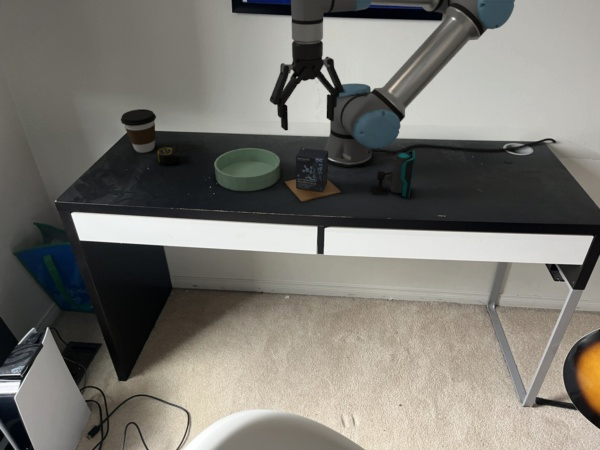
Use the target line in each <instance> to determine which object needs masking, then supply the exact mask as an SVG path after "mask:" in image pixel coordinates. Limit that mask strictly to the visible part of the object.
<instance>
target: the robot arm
mask: <svg viewBox="0 0 600 450" xmlns="http://www.w3.org/2000/svg"><path fill="white" fill-rule="evenodd" d="M515 1H516V0H290V11H291V39H292V40H293V41H292V42H291V53H292V54H291V57H292V62H291V64H286V63H284V62H282V63H280V66H279V74H278V77H277V79H276V82H275V85H274V87H273V90H272V92H271V95H270V98H269V102H270V103H271V104H273V105H274V106H276V107H277V116H278V118H279V119H280V128H281V129H283V130H284V131H289V114H288V113H289V112H288V105H287V104H286V103H287V102H288V101H289V99H290V97H291V95H292V94H293V92H294V91H295V90H296V88H297V87H298V85H300V84H301V82H306V81H309V80H311V81H313V80H316V79H317V80H318V82H320V84H321V85H322V86H323V87H324V88H325V89H326V91H327V92H328V93H329V94H326V119H327V120H328V121H329V123H330V125H329V127H330V128H329V136H328V138H327V141H326V144H325V147H324V149H323V150H324V151H325V150H326V151H328V164H331V165H333V166H335V167H341V168H357V167H363V166H365V165H367V164H368V163H370V162H371V161H372V156H373V153H386V154H397V153H399V152H405V151H407V150H410V149H412V148H421V147H422V148H435V149H447V150H459V151H468V152H469V151H470V152H506V151H507V152H508V151H513V150H519V149H523V148H526V147H529V146H534V145H538V144H541V143H544V142H549V141H550V142H551V143H553V144H557V140H556V139H554V138H552V137H548V138H547V137H546V138H542V139H539V140H537V141H533V142H529V143H525V144H522V145H517V146H512V147H503V148H477V147H476V148H475V147H474V148H473V147H462V146H461V147H460V146H452V145H451V146H450V145H437V144H427V143H419V144H418V143H417V144H411V145H408V146H406V147H404V148H402V149H397V150H389V149H384V148H387V147H388V146H390V145H391V144H393V143H394V142H395V141H396V139H397V138H398V136H399V135H400V129H401V123H402V121H403V120H404V119H405V117H406V109H407V108H408V107H409V106H410V105H411V103H412V102H413V101H414V100H415V99H416V98H417V97H418V96H420V94H421V93H422V91H423V90H424V89H425V88H426V87H427V86H428V85H429V84H430V83H431V82H432V81H433V80H434V79H435V78H436V77H437V76H438V75H439V73H440V72H441V71H442V70H443V69H445V67H446V66H447V65H448V64H449V63H450V62H451V61H452V59H453V58H454V57H456V55H457V54H458V53H459V52H460V51H461V50H462V49H463V48H464V47H465V45H466V44H467V43H468V42H469V41H475V40H479V39H480V38H481V37H482V36H483V35H484V34H485V32H486V31H487V30H494V29H499V28H501V27H502V26H503V25H505V24H506V23H507V22H508V20H509V19H510V18H511V16H512V14H513V12H514V8H515ZM372 5H373V6H392V7H393V6H395V7H396V6H397V7H412V8H413V7H414V8H415V7H416V8H423V10H425V11H426V12H436V13H440V14H442V15H443V14H444V15H445V17H444V20H442V21H441V23H440V24H439V25H438V26H437V27H436V28H435V30H433V32H432V33H430V35H429V36H428V37H427V38H426V39H425V40H424V42H423V43H422V44H420V46H418V48H417V49H416V50H415V51H414V53H413V54H412V55H411V56H410V57H409V58H408V59H407V60H406V61H405V62H404V63H403V65H401V67H400V68H399V69H398V70H397V71H396V72H395V73H394V74H393V75H392V77H390V79H389V80H388V81H387V82H386V83H385V84H384V85H383V86H382V87H374V88H373V89H372V88H371V86H370V85H368V84H365V83H343V84H342V81H341V80H340V77H339V75H338V72H337V70H336V68H335V60H334V58H331V57H330V56H325V58H323V56H324V42H323V41H322V40H323V39H324V14H325V13H326V14H327V13H328V14H329V13H340V12H353V11H354V12H357V11H362V10H366V9H369V7H370V6H372ZM323 67H325V69H326V72H327V73H328V75H329V78H330V80H331V82H330V81H329V80H328V78H327V77H325V76H326V75H324V74H323V72H322V71H321V70H322V69H323ZM291 72H292V74H291ZM289 74H291V75H289ZM289 76H290V78H289ZM288 79H289V80H288ZM287 81H288V82H287ZM331 83H332V84H331Z"/></svg>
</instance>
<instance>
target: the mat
mask: <svg viewBox="0 0 600 450" xmlns="http://www.w3.org/2000/svg"><path fill="white" fill-rule="evenodd" d="M284 184H285V185H286V186H287V187H288V188H289V189H290V191H291V192H292V193H293V194H294V195H295V196H296V197H297V199H299V201H300V202H301V203H303V202H307V201H312V200H315V199H320V198H325V197H327V196H328V197H329V196H331V195H337V194H339V193H341V190H340V189H339V188H338V187H336V185H335V184H333V183H332V182H331V181H330V180H329V179H328V178H327V184H326V186H325V188H324V190H323V192H317V191H311V190H305V189H297V188H296V178H295V179H291V180H286V181H284Z"/></svg>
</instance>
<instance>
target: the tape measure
mask: <svg viewBox="0 0 600 450" xmlns="http://www.w3.org/2000/svg"><path fill="white" fill-rule="evenodd" d="M178 150H179V149H178V148H177V147H176V146H171V147H162V148H159V149H158V150H157V151H156V154H155V155H156V161H158V163H159V164H162V165H171V164H175V163H178V162H180V160H181V158H180V154H179V151H178Z"/></svg>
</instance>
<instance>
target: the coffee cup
mask: <svg viewBox="0 0 600 450" xmlns="http://www.w3.org/2000/svg"><path fill="white" fill-rule="evenodd" d="M156 118H157V115H156V114H155V113H154V111H153V110H151V109H147V108H145V109H144V108H140V109H132V110H129V111H126V112H124V113H123V114H122V115H121V117H120V122H121V124H122V125H124V128H125V131H126V134H127V136H128V138H129V141H130V143H131V144H132V147H133V149H134V151H135V152H137V153H139V154H143V153H145V154H146V153H150V152H152V151H153V150H154V149H155V146H156V123H155V120H156Z"/></svg>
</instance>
